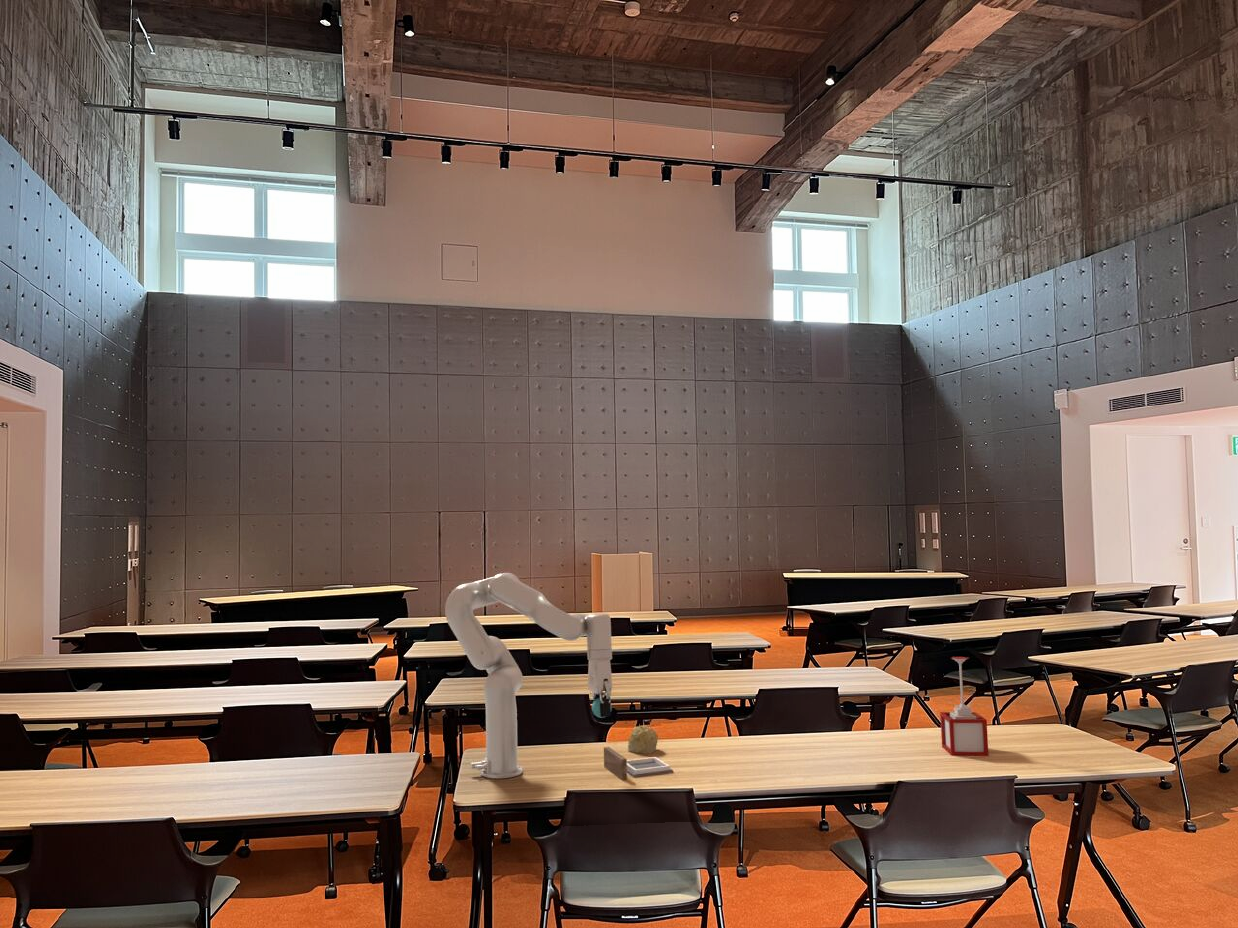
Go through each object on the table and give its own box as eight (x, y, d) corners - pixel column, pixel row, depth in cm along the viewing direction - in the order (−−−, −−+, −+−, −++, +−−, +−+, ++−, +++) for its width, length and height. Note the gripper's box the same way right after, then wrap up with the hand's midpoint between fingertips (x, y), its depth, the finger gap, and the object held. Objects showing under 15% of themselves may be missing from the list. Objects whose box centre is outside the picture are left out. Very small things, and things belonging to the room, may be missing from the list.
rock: (649, 756, 290) (637, 729, 294) (668, 745, 283) (655, 716, 287) (628, 764, 283) (616, 736, 287) (647, 752, 276) (635, 723, 280)
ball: (595, 720, 254) (595, 700, 254) (589, 716, 260) (589, 696, 260) (614, 718, 256) (613, 698, 256) (608, 714, 262) (607, 694, 262)
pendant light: (977, 747, 281) (972, 655, 283) (988, 755, 269) (983, 660, 272) (942, 746, 282) (937, 655, 284) (951, 755, 271) (946, 660, 273)
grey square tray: (633, 777, 253) (633, 770, 253) (618, 766, 265) (618, 760, 265) (673, 772, 258) (673, 766, 258) (656, 761, 270) (656, 756, 270)
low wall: (621, 780, 250) (621, 759, 251) (604, 766, 265) (603, 747, 266) (626, 779, 251) (626, 758, 251) (608, 766, 266) (608, 746, 266)
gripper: (579, 652, 266) (582, 710, 265) (596, 658, 250) (599, 721, 248) (602, 650, 269) (604, 708, 267) (620, 656, 253) (623, 718, 251)
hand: (602, 713), depth 258 cm, fingers closed on ball, 5 cm apart
